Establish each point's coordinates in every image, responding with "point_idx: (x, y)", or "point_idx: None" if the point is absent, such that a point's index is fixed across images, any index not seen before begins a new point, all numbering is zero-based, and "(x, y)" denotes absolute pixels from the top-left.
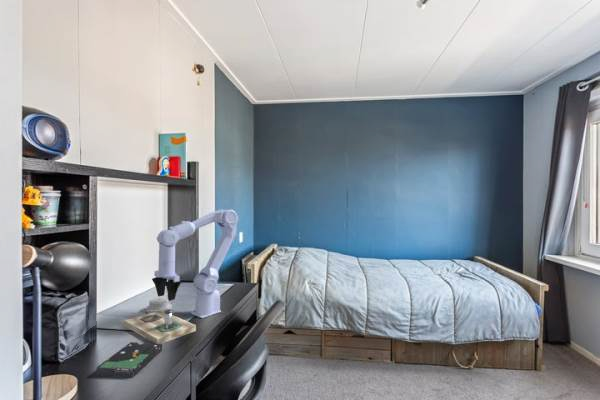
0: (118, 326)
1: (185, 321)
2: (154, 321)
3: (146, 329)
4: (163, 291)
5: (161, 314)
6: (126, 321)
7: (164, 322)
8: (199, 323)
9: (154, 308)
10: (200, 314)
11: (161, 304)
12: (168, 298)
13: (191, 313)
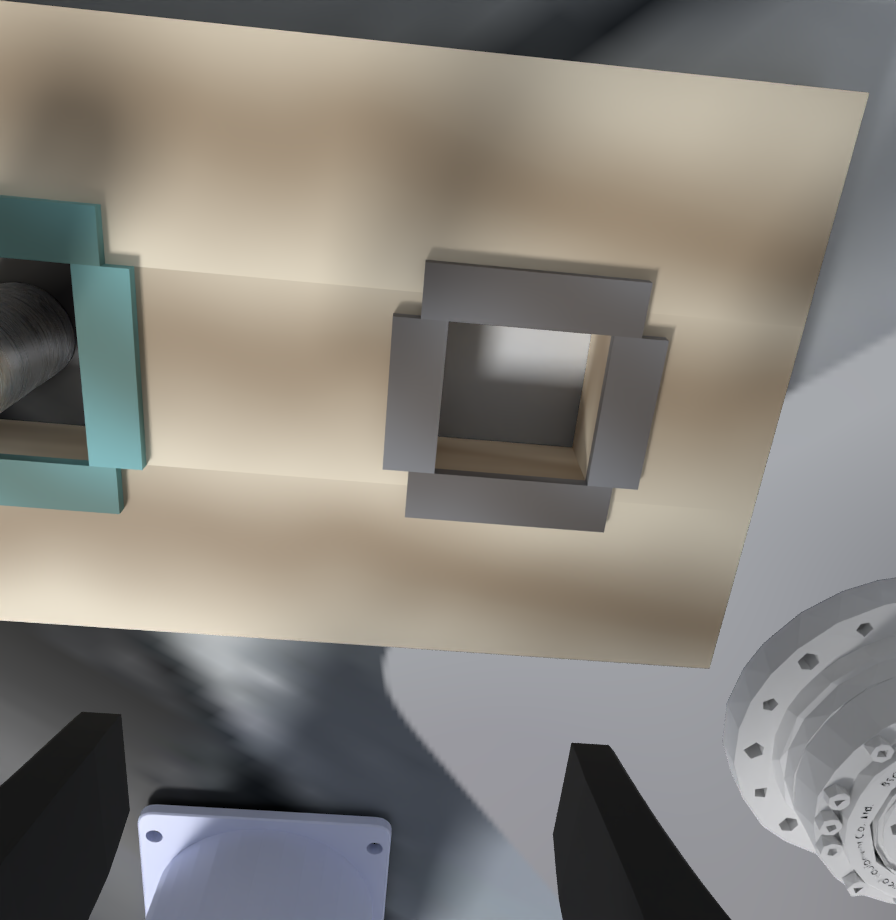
0: (888, 23)
1: (12, 606)
2: (369, 366)
3: (132, 85)
4: (571, 911)
5: (544, 578)
6: (780, 87)
7: (204, 427)
8: (31, 710)
9: (872, 660)
10: (205, 845)
11: (824, 758)
12: (77, 739)
13: (364, 821)
